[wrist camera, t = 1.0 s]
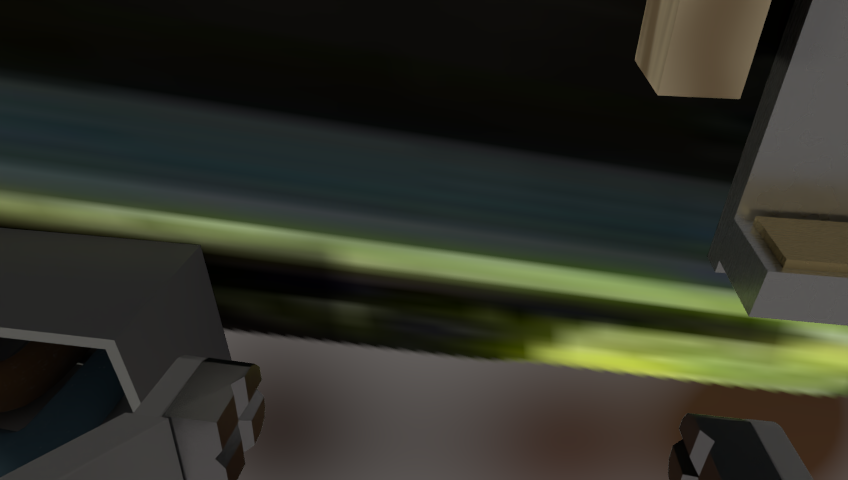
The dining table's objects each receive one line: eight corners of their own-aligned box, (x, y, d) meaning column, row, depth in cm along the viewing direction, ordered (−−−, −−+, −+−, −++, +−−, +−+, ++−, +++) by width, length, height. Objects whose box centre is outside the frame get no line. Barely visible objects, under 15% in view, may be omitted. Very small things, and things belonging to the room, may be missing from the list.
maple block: (634, 59, 34) (657, 95, 28) (665, -91, 29) (700, -86, 24) (702, 62, 33) (739, 98, 28) (743, -91, 29) (798, -85, 23)
